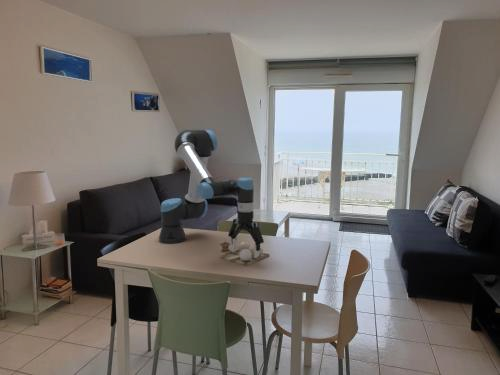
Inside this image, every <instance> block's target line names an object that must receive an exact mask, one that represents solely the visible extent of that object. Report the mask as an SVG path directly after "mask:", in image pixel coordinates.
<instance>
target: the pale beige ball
mask: <svg viewBox="0 0 500 375" xmlns="http://www.w3.org/2000/svg"><path fill="white" fill-rule="evenodd" d="M237 249H238V250H239V252H240V251H241V250H243V249H248V250H249V249H251V248H250V244H249V243H248V242H247V241H241V242H239V243H238V244H237Z"/></svg>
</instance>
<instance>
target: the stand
mask: <svg viewBox="0 0 500 375" xmlns="http://www.w3.org/2000/svg"><path fill="white" fill-rule="evenodd" d="M219 245H220V246H221V247H222V249H220V250H219V251H220V252H221V253H222V254H226V253H229V252H231V249H230V248H229V247H230V246H231V245H232V242H231V243H230V242H227V241H223V242H220V244H219Z"/></svg>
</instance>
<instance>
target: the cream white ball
mask: <svg viewBox="0 0 500 375" xmlns="http://www.w3.org/2000/svg"><path fill="white" fill-rule="evenodd" d="M250 249H251V253H252V255H253V256H254V245H253V246H252V247H251V248H250ZM262 253H264V249H263V247H262V246H261V245H260V250H259V256H261V255H262Z"/></svg>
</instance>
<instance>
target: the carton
mask: <svg viewBox="0 0 500 375" xmlns="http://www.w3.org/2000/svg"><path fill="white" fill-rule="evenodd" d="M249 250H250V251H251V248H250V249H249ZM239 253H240V252H239V250H238V248H237V251H235V252H233V250H232V251H231V250H230V252H227V253H222V254H220V255H219V258H220V259H221V260H225V261H229V262H233V263H236V264H239V265H242V266H246V267H248V266H250V265H253V264H254V263H257V262H259V261H262V260H264V259H267V258H270V254H269V253H266V252H263V253H262V255H261V256H259V257H257V258H254V256H253V255H252V257H251V259H250V260H249V261H246V262H245V261H242V260H241V259H240V257H239Z"/></svg>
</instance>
